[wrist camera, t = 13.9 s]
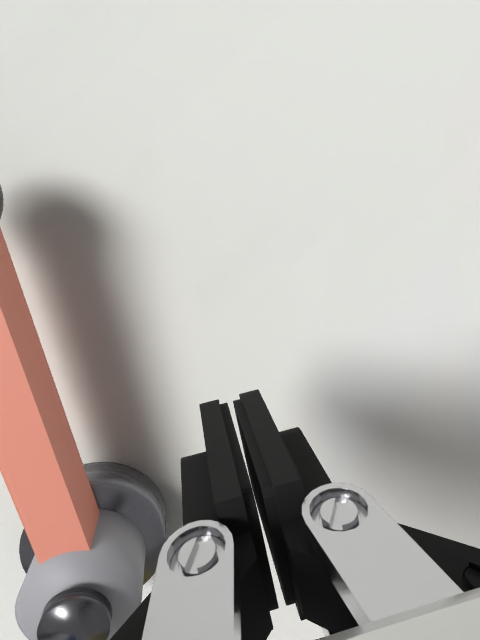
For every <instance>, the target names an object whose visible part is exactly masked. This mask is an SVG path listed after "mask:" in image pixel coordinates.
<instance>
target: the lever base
mask: <svg viewBox="0 0 480 640" xmlns="http://www.w3.org/2000/svg"><path fill="white" fill-rule="evenodd" d="M83 466H84V469H85V472H86V475H87V477H88V480H89V483H90V486H91V489H92V492H93V495H94V497H95V500H96V503H97V506H98V509H104V510H109V511H113V512H116V513H119V514H121V515H123V516H125V517H127V518H128V519H130V520H131V521H132V522H133V523H134V524H135V525H136V526H137V527H138V528H139V530H140V531H141V533H142V535H143V537H144V541H145V545H146V554H145V565H144V577H143V585H144V584H145V583H146V582H147V581H148V580H149V579H150V578H151V576H152V575H153V574H154V573H155V571H156V568H157V563H158V558H159V554H160V552H161V549H162V546H163V545H164V543H165V517H166V514H165V505H164V501H163V498H162V496H161V494H160V492H159V490H158V488H157V487H156V486H155V485H154V483H153V482H152V481H151V480H150V479H149V478H148V477H146V476H145V475H143V474H142V473H141V472H139V471H137V470H135V469H133V468H130V467H128V466H125V465H121V464H116V463H107V462H98V463H89V464H84V465H83ZM19 553H20V559H21V563H22V566H23V569H24V570H25V572H26V574H27V572H28V569H29V567H30V565H31V562H32V560H33V557H34V555H35V553H34V551H33V548H32V546H31V543H30V541H29V538H28V536H27V534H26V531H25V529H24V530H23V532H22V535H21V539H20V548H19ZM111 620H112V606H111V604H110V602H109V600H108V599H107V598H106V597H105V596H104V595H103V594H101V593H100V592H98V591H96V590H93V589H89V588H72V589H67V590H65V591H62V592H60V593H58V594H56V595H55V596H54V597H52V598H51V599H50V600H49V601H48V603H47V604H46V605H45V607H44V610H43V613H42V616H41V619H40V622H39V625H38V628H37V639H38V640H107V638H108V636H109V632H110V627H111Z"/></svg>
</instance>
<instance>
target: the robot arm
mask: <svg viewBox="0 0 480 640" xmlns="http://www.w3.org/2000/svg"><path fill="white" fill-rule="evenodd" d="M239 396H240V399H239V400H235V401H233V403H234V408H235V413H236V417H237V422H238V426H239V431H240V435H241V440H242V444H243V449H244V453H245V458H246V462H247V467H248V471H249V476H250V480H251V483H250V480H249V476H248V473H247V469H246V466H245V462H244V459H243V455H242V452H241V449H240V445H239V442H238V438H237V435H236V431H235V428H234V424H233V421H232V417H231V414H230V411H229V407H228V404H227V403H223V404H219V400H214V401H210V402H206V403H202V404H200V411H201V418H202V425H203V432H204V439H205V446H206V452H202V453H199V454H195V455H191V456H187V457H184V458H181V480H182V506H183V527H181V528H179V529H178V530H177V531H175V532H174V533H173V534H172V535H171V536H170V537H169V538H168V539H167V541H166V542H165V543H164V545H163V546H162V549H161V552H160V554H159V558H158V563H157V568H156V573H155V578H154V582H153V587H152V592H151V593H150V594H149V595H148V596H147V597H146V598H145V600H144V601H143V602H142V603H141V604H140V605H139V606H138V608H137V609H136V610H135V611H134V612H133V613H132V615H131V616H130V617H129V618H128V619H127V620H126V621H125V623H124V624H123V625H122V626H121V627H120V628H119V629H118V631H117V632H116V633H115V634H114V635H113V636H112V637H111V639H110V640H266V639H267V637H268V636H269V634H270V632H271V630H273V625H272V620H271V616H270V611H271V610H274V609H278V608H279V607H278V602H277V598H276V593H275V589H274V584H273V580H272V575H271V570H270V566H269V561H268V557H267V552H266V548H265V543H264V539H263V534H262V530H261V525H260V521H259V516H258V512H257V507H258V510H259V513H260V517H261V520H262V524H263V527H264V531H265V534H266V538H267V541H268V544H269V548H270V551H271V555H272V558H273V562H274V565H275V569H276V572H277V575H278V579H279V582H280V586H281V589H282V593H283V596H284V600H285V603H286V605H290V604H294V603H296V607H297V610H298V613H299V616H300V619H301V620H304V619H307V620H309V621H311V622H313V623H315V624H317V625H319V626H321V627H322V628H323V633H324V635H325V637H323V638H319V639H316V640H480V549H478V548H475V547H472V546H469V545H466V544H462V543H459V542H456V541H453V540H450V539H446V538H443V537H440V536H437V535H434V534H431V533H427V532H424V531H421V530H418V529H415V528H411V527H408V526H405V525H402V524H399V523H397V522H396V521H395V520H394V519H393V518H392V517H391V516H390V515H389V514H388V513H387V512H386V511H385V510H384V509H383V508H382V507H381V506H380V505H379V504H378V503H377V502H376V501H375V500H374V499H373V498H372V496H371V495H370V494H368V493H367V492H366V491H364V490H363V489H362V488H359V487H357V486H354V485H352V484H346V483H331V481H330V479H329V477H328V476H327V474H326V472H325V471H324V469H323V467H322V465H321V464H320V462H319V460H318V459H317V457H316V455H315V454H314V452H313V450H312V448H311V447H310V445H309V443H308V442H307V440H306V438H305V436H304V435H303V433H302V431H301V430H300V428H298V427H296V428H293V429H289V430H285V431H281V432H279V431H278V429H277V427H276V425H275V423H274V421H273V419H272V417H271V415H270V413H269V411H268V408H267V406H266V404H265V402H264V400H263V398H262V396H261V394H260V392H259V390H254V391H250V392H246V393H242V394H239ZM251 485H252V487H251ZM252 489H253V491H252ZM253 493H254V494H253ZM254 496H255V499H254ZM255 500H256V503H257V507H256V503H255Z"/></svg>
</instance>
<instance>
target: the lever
mask: <svg viewBox="0 0 480 640" xmlns="http://www.w3.org/2000/svg"><path fill="white" fill-rule="evenodd" d="M2 211H3V193H2V189H1V186H0V218H1V215H2ZM0 471H1V473H2V476H3V478H4V481H5V483H6V485H7V488H8V490H9V493H10V495H11V498H12V500H13V502H14V505H15V507H16V510H17V512H18V514H19V517H20V519H21V522H22V524H23V526H24V529H25V531H26V534H27V536H28V538H29V541H30V543H31V546H32V548H33V551H34V553H35V555H34V557H33V560H32V562H31V565H30V567H29V569H28V572H27V574H26V577H25V579H24V581H23V584H22V586H21V589H20V591H19V594H18V596H17V599H16V604H15V616H16V621H17V623H18V626H19V628H20V629H21V631H22V632H23V634H24V635H25V636H26V637H27V638H28V639H29V640H38V639H37V628H38V625H39V622H40V619H41V616H42V613H43V610H44V607H45V605H46V604H47V603H48V601H49V600H50V599H51V598H52V597H54V596H55V595H56V594H58V593H60V592H62V591H65V590H67V589H72V588H89V589H93V590H96V591H98V592H100V593H101V594H103V595H104V596H105V597H106V598H107V599H108V600H109V602H110V604H111V606H112V620H111V627H110V632H109V636H108V638H107V640H110V639H111V637H112V636H113V635H114V634H115V633H116V632H117V631H118V629H119V628H120V627H121V626H122V625H123V624H124V623H125V621H126V620H127V619H128V618H129V617H130V616H131V615H132V613H133V612H134V611H135V610H136V609H137V608H138V606H139V605H140V604H141V600H142V588H143V577H144V565H145V554H146V545H145V541H144V537H143V535H142V533H141V531H140V530H139V528H138V527H137V526H136V525H135V524H134V523H133V522H132V521H131V520H130V519H128V518H127V517H125V516H123V515H121V514H119V513H116V512H113V511H109V510H104V509H98V506H97V503H96V500H95V497H94V495H93V492H92V489H91V486H90V483H89V480H88V477H87V475H86V472H85V469H84V466H83V463H82V460H81V457H80V454H79V452H78V449H77V446H76V443H75V440H74V437H73V434H72V432H71V429H70V426H69V423H68V420H67V417H66V414H65V412H64V409H63V406H62V403H61V400H60V397H59V394H58V391H57V389H56V386H55V383H54V380H53V377H52V374H51V371H50V369H49V366H48V363H47V360H46V357H45V354H44V351H43V348H42V346H41V343H40V340H39V337H38V334H37V331H36V328H35V326H34V323H33V320H32V317H31V314H30V311H29V308H28V306H27V303H26V300H25V297H24V294H23V291H22V288H21V285H20V283H19V280H18V277H17V274H16V271H15V268H14V265H13V263H12V260H11V257H10V254H9V251H8V248H7V245H6V243H5V240H4V237H3V234H2V231H1V228H0Z"/></svg>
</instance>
